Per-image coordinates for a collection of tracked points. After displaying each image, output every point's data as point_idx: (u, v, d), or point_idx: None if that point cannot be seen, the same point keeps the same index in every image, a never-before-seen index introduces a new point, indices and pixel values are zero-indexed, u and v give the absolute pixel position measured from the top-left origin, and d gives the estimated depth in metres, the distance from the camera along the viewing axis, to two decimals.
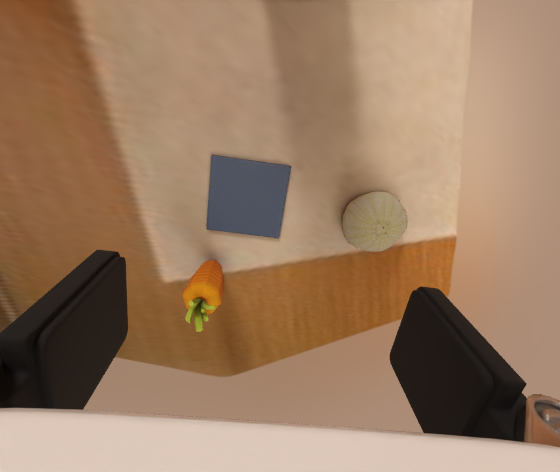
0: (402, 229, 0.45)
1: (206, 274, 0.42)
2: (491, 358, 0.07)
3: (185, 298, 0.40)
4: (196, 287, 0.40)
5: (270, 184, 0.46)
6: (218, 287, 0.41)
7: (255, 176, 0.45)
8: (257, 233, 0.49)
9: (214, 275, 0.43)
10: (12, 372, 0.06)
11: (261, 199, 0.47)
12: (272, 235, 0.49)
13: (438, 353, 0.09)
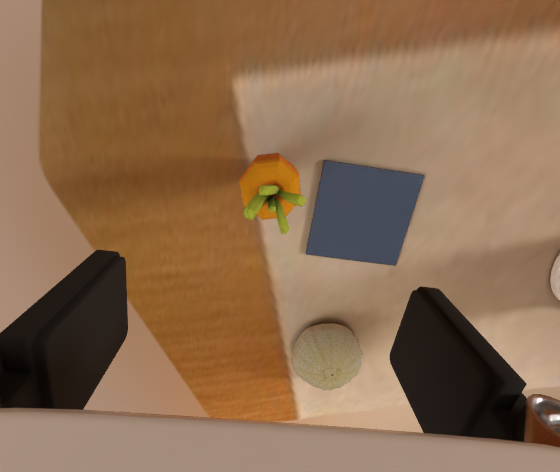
0: (326, 389, 0.41)
1: None
2: (491, 358, 0.07)
3: (277, 166, 0.23)
4: (296, 185, 0.24)
5: (377, 244, 0.37)
6: None
7: (390, 227, 0.37)
8: (314, 228, 0.36)
9: None
10: (12, 372, 0.06)
11: (360, 233, 0.37)
12: (310, 246, 0.37)
13: (438, 353, 0.09)
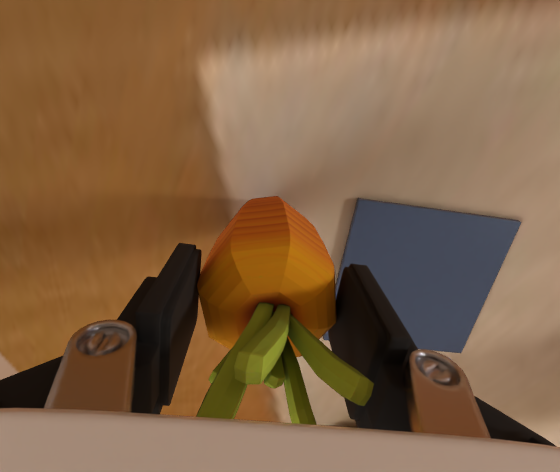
0: None
1: None
2: (389, 319, 0.08)
3: (285, 259, 0.09)
4: (330, 297, 0.10)
5: (436, 323, 0.24)
6: None
7: (457, 299, 0.23)
8: None
9: None
10: (144, 342, 0.07)
11: (410, 309, 0.23)
12: None
13: (355, 320, 0.09)
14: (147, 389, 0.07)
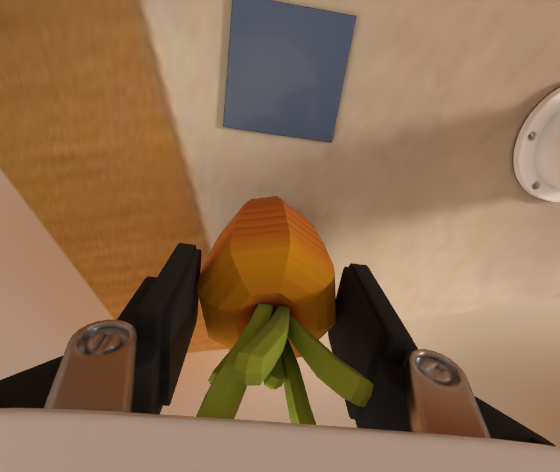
0: None
1: None
2: (389, 319, 0.08)
3: (285, 260, 0.09)
4: (330, 298, 0.10)
5: (307, 112, 0.32)
6: None
7: (320, 89, 0.31)
8: (229, 90, 0.30)
9: None
10: (144, 342, 0.07)
11: (285, 97, 0.31)
12: (227, 115, 0.31)
13: (355, 320, 0.09)
14: (147, 389, 0.07)
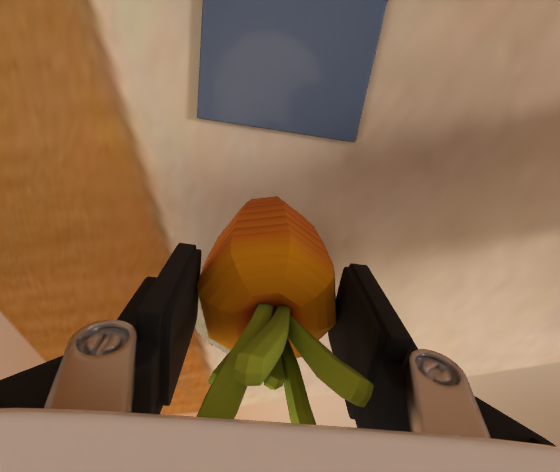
0: None
1: None
2: (389, 319, 0.08)
3: (285, 260, 0.09)
4: (330, 298, 0.10)
5: (321, 98, 0.21)
6: None
7: (341, 62, 0.21)
8: (205, 62, 0.20)
9: None
10: (144, 342, 0.07)
11: (288, 74, 0.21)
12: (202, 101, 0.21)
13: (355, 320, 0.09)
14: (147, 389, 0.07)
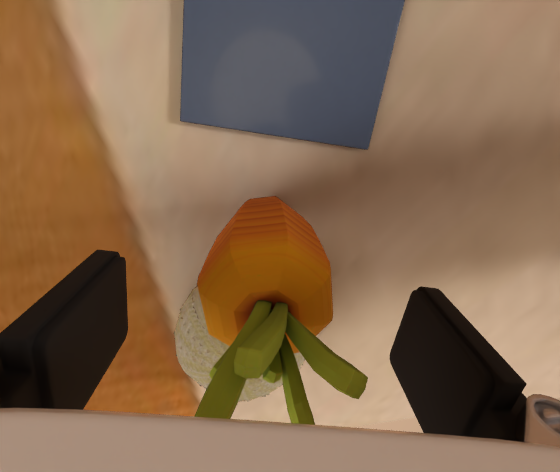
0: (238, 400, 0.21)
1: None
2: (491, 358, 0.07)
3: (283, 259, 0.10)
4: (327, 295, 0.11)
5: (329, 97, 0.18)
6: None
7: (353, 54, 0.17)
8: (189, 54, 0.17)
9: None
10: (12, 372, 0.06)
11: (289, 69, 0.17)
12: (186, 101, 0.18)
13: (438, 353, 0.09)
14: None
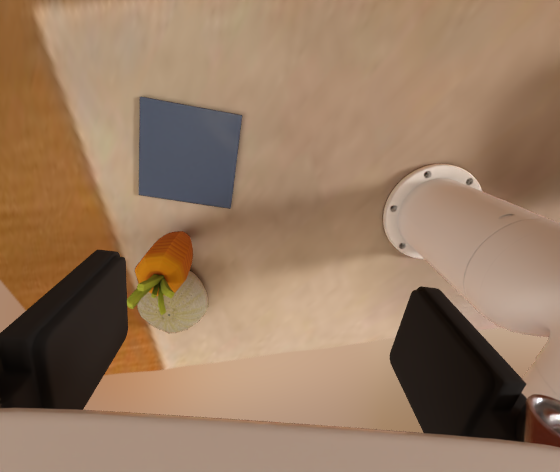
0: (168, 331, 0.42)
1: (188, 268, 0.34)
2: (491, 358, 0.07)
3: (161, 260, 0.30)
4: (178, 273, 0.31)
5: (208, 185, 0.39)
6: None
7: (217, 168, 0.38)
8: (142, 167, 0.37)
9: None
10: (12, 372, 0.06)
11: (188, 173, 0.38)
12: (141, 186, 0.38)
13: (438, 353, 0.09)
14: None
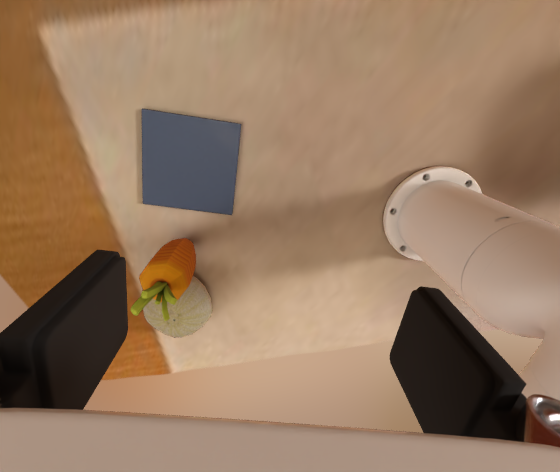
0: (174, 336, 0.43)
1: (191, 275, 0.35)
2: (491, 358, 0.07)
3: (164, 268, 0.31)
4: (181, 280, 0.32)
5: (210, 193, 0.39)
6: None
7: (218, 176, 0.39)
8: (145, 177, 0.38)
9: None
10: (12, 372, 0.06)
11: (190, 182, 0.39)
12: (145, 195, 0.39)
13: (438, 353, 0.09)
14: None
